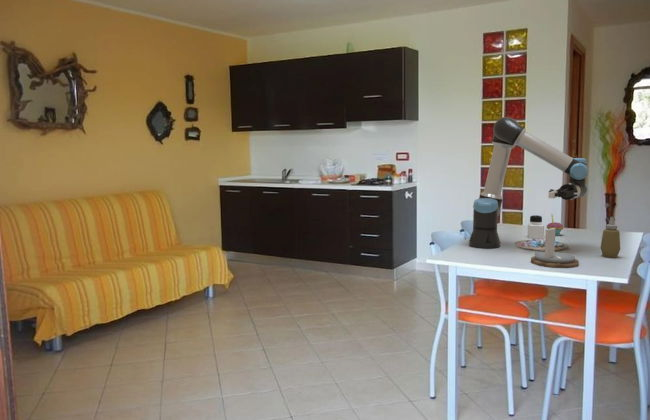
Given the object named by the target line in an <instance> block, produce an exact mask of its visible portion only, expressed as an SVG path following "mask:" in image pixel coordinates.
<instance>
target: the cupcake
mask: <svg viewBox="0 0 650 420" xmlns="http://www.w3.org/2000/svg"><path fill="white" fill-rule="evenodd" d="M550 215H551V221H552V222H550V223H548V224H546V229H551V228H556V231H555V237H557V236H560V233H561V232H562V231H563V229H564V224H562V223H560V222H555V221H554V217H553V216H554V214H550Z"/></svg>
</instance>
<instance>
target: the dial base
mask: <svg viewBox="0 0 650 420" xmlns="http://www.w3.org/2000/svg"><path fill="white" fill-rule="evenodd" d="M530 262H531V264H534V265H536V266H539V267H546V268H551V269H553V268H554V269H570V268H571V269H572V268H576V267H577V268H578V266H579V264H580V261H579V260H578V259H577V258H575V261H574V262H570V263H552V262H544V261H540V260H537V259H535V255H533V256H531V258H530Z"/></svg>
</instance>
